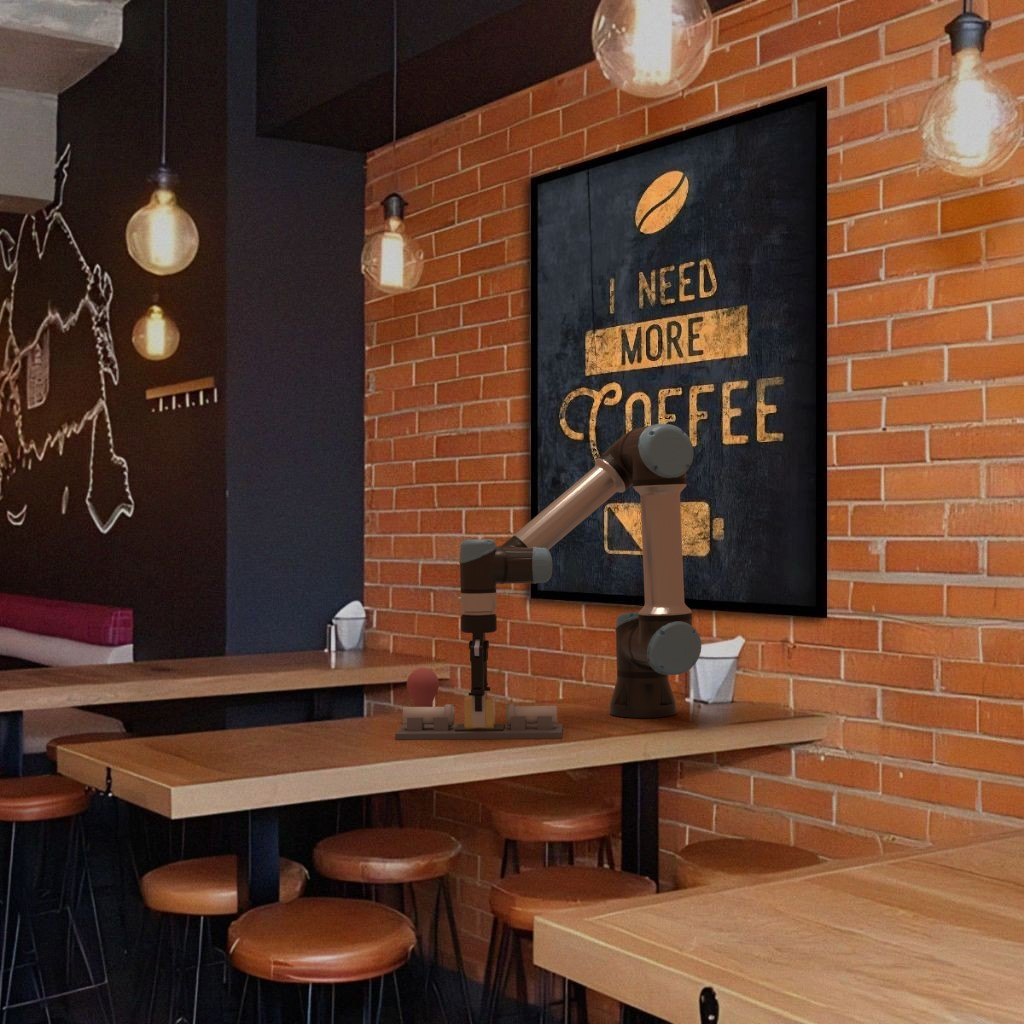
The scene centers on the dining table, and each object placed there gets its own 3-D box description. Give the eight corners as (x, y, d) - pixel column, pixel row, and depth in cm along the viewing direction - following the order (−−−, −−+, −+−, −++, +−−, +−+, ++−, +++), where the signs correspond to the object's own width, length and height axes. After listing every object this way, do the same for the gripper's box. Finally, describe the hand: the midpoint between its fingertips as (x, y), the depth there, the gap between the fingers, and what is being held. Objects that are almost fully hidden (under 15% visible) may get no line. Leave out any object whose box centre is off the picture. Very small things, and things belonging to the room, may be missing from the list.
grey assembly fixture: (562, 729, 283) (562, 699, 283) (561, 738, 271) (561, 707, 271) (403, 730, 285) (402, 700, 285) (395, 739, 273) (394, 708, 273)
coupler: (466, 724, 280) (466, 696, 280) (495, 724, 280) (494, 696, 280) (464, 728, 275) (464, 699, 275) (493, 728, 275) (493, 699, 275)
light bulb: (441, 719, 299) (440, 666, 299) (436, 724, 292) (435, 669, 292) (410, 719, 299) (409, 666, 299) (404, 724, 292) (403, 670, 292)
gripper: (464, 610, 287) (465, 718, 287) (456, 616, 269) (458, 731, 269) (499, 609, 287) (500, 718, 287) (493, 616, 269) (495, 731, 269)
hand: (480, 724), depth 278 cm, fingers closed on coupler, 5 cm apart
